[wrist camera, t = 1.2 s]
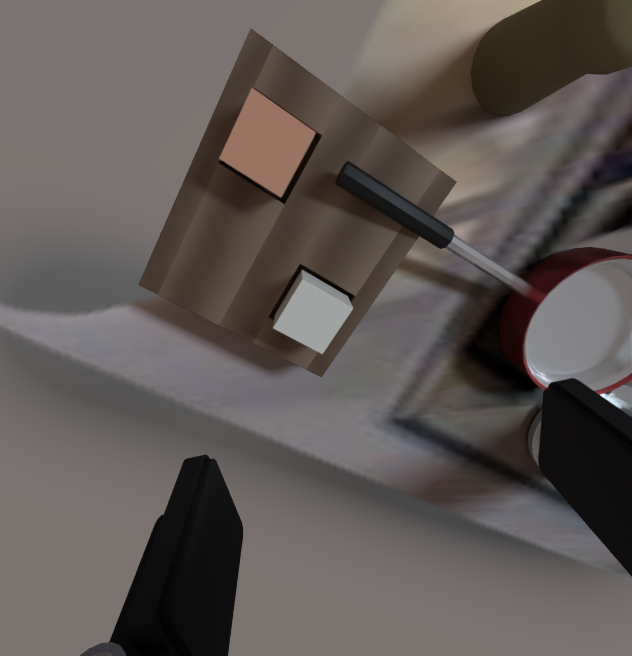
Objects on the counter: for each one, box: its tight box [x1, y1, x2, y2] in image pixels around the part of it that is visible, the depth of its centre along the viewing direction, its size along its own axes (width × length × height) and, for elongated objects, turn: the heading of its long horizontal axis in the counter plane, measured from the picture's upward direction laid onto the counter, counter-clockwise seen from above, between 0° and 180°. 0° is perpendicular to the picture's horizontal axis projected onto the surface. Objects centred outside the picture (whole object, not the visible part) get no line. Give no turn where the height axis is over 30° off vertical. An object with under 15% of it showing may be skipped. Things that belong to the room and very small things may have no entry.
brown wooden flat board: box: [139, 29, 456, 377], centre depth 27 cm, size 16×18×4 cm
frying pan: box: [336, 161, 632, 395], centre depth 29 cm, size 32×13×6 cm, turn 67°
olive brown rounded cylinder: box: [471, 0, 632, 115], centre depth 20 cm, size 6×6×11 cm
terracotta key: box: [219, 88, 316, 197], centre depth 22 cm, size 4×4×3 cm
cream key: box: [273, 270, 353, 354], centre depth 26 cm, size 4×4×3 cm
